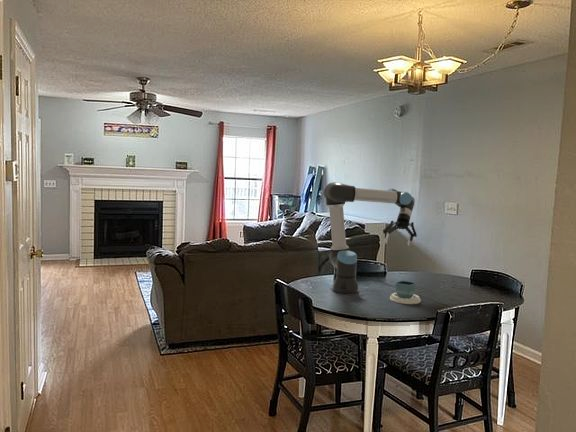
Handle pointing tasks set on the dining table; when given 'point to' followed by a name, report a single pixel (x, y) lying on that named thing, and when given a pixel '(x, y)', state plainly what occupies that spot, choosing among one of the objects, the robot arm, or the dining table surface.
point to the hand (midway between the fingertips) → (396, 243)
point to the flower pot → (405, 289)
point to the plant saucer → (405, 299)
